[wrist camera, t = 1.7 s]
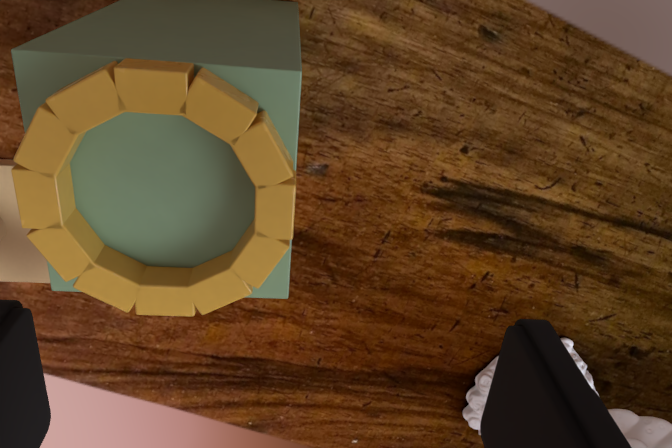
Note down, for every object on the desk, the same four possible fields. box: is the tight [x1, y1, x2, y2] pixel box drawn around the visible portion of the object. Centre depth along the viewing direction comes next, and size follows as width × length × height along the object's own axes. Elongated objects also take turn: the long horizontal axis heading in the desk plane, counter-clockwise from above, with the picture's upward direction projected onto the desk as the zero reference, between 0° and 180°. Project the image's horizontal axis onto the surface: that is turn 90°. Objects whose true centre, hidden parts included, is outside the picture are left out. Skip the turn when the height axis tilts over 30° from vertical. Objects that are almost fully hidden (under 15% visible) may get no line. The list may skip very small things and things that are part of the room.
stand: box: [11, 0, 302, 299], centre depth 25 cm, size 8×8×16 cm
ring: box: [11, 58, 296, 316], centre depth 17 cm, size 8×8×1 cm
